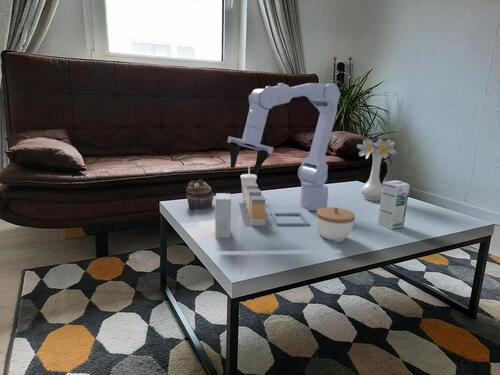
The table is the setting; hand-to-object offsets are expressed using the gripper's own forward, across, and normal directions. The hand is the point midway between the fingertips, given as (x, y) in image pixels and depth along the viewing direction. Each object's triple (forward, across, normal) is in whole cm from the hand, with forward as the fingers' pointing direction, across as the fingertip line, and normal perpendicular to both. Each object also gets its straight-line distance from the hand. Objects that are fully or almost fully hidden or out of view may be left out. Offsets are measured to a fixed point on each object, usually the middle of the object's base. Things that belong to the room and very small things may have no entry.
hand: (243, 170), depth 107 cm
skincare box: (+19, +2, -11) cm, 22 cm away
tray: (+13, +17, +8) cm, 22 cm away
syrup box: (+6, +47, +19) cm, 51 cm away
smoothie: (+13, -4, +25) cm, 28 cm away
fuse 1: (+13, +1, +16) cm, 20 cm away
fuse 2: (+14, +4, +8) cm, 17 cm away
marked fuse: (+15, +8, +2) cm, 17 cm away
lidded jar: (+12, +32, +1) cm, 34 cm away
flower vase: (+1, +40, +49) cm, 63 cm away
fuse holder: (+14, +4, +9) cm, 17 cm away
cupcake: (+18, -15, +9) cm, 25 cm away
